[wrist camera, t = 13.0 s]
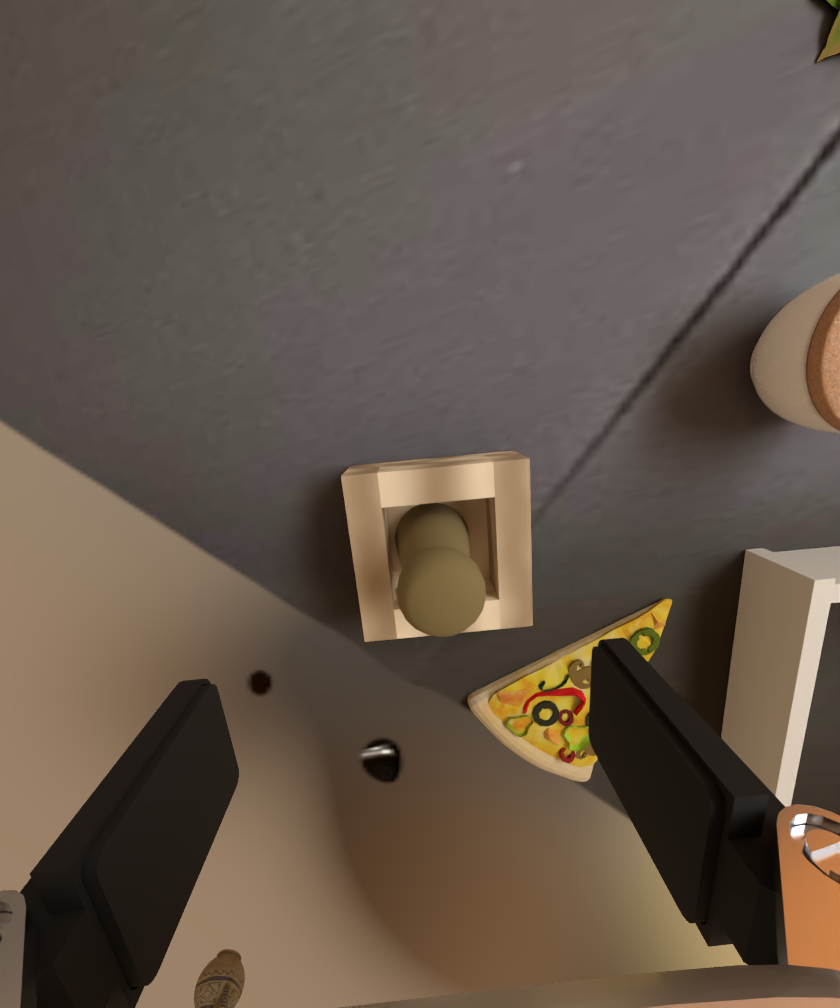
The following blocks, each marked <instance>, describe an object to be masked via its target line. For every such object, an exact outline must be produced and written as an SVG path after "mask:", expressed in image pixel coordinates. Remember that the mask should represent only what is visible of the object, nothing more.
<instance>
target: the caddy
mask: <svg viewBox="0 0 840 1008" xmlns="http://www.w3.org/2000/svg"><path fill="white" fill-rule="evenodd" d="M341 480H342V487H343V494H344V501H345V508H346V515H347V522H348V529H349V536H350V543H351V550H352V556H353V563H354V570H355V577H356V584H357V591H358V598H359V605H360V612H361V619H362V626H363V633H364V640H365V642H369V641H379V640H390V639H400V638H411V637H421V636H431V635H427V634H425V633H423V632H421V631H418V630H416V629H415V628H414V627H413V626H412V625H411V624H409V623H408V622H407V621H406V619H405V617H404V615H403V614H402V612H401V610H400V608H399V606H398V600H397V593H396V592H397V585H398V580H399V575H400V573H401V572H402V570H403V569H402V566H401V562H400V559H399V555H398V552H397V548H396V542H395V534H396V528H397V525H398V523H399V522H400V520H401V518H402V516H403V515H404V514H406V513H407V512H408V511H409V510H410V509H411V508H413V507H415V506H418V505H420V504H428V503H441V504H446V505H448V506H450V507H451V508H453V509H455V510H456V511H457V512H458V513H459V514H460V515H461V516H462V517H463V518H464V520H465V523H466V525H467V527H468V534H469V548H470V558H471V559H472V560H473V561H474V563H475V564H476V565H477V566H478V568H479V570H480V572H481V574H482V576H483V578H484V581H485V588H486V599H485V603H484V607H483V611H482V612H481V614H480V616H479V617H478V619H477V620H476V622H474V623H473V624H472V625H471V626H470V627H468V628H467V629H466V630H465V631H463V632H473V631H484V630H494V629H505V628H515V627H525V626H533V612H532V559H531V506H530V458H527V457H525V456H523V455H521V454H519V453H517V452H515V451H502V452H492V453H481V454H471V455H460V456H449V457H439V458H428V459H417V460H407V461H396V462H386V463H375V464H364V465H354V466H350V467H349V468H348V469H347V470H346V471H345V472H344V473H343V475H342V476H341ZM463 632H460V633H463Z"/></svg>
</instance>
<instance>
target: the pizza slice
mask: <svg viewBox="0 0 840 1008" xmlns="http://www.w3.org/2000/svg"><path fill="white" fill-rule="evenodd" d="M671 604H672V600H671V599H662V600H660V601H659V602H657V603H655V604H652V605H650V606H648V607H646V608H644V609H642V610H640V611H638V612H636V613H634V614H632V615H630V616H628V617H626V618H624V619H622V620H620V621H618V622H616V623H614V624H612V625H609V626H607V627H605V628H603V629H601V630H599V631H597V632H595V633H593V634H591V635H589V636H587V637H585V638H583V639H581V640H579V641H577V642H575V643H573V644H570V645H568V646H566V647H564V648H562V649H560V650H558V651H556V652H554V653H552V654H550V655H548V656H546V657H544V658H542V659H540V660H538V661H536V662H534V663H532V664H530V665H528V666H526V667H523V668H521V669H519V670H517V671H515V672H513V673H511V674H509V675H507V676H505V677H503V678H501V679H499V680H497V681H495V682H493V683H491V684H489V685H487V686H485V687H482V688H480V689H478V690H476V691H474V692H472V693H471V694H470V695H469V696H468V705H469V707H470V709H471V711H472V712H473V714H474V715H475V716H476V717H477V718H478V719H479V720H480V721H481V722H482V723H483V724H484V726H485V727H486V728H487V729H488V730H489V731H490V732H491V733H492V734H493V735H494V736H495V737H496V738H497V739H498V740H499V741H500V742H502V743H503V744H504V745H506V746H507V747H508V748H509V749H510V750H512V751H513V752H514V753H516V754H517V755H519V756H520V757H522V758H523V759H525V760H526V761H528V762H529V763H531V764H533V765H535V766H537V767H539V768H541V769H543V770H545V771H548V772H551V773H554V774H556V775H559V776H562V777H565V778H567V779H570V780H575V781H579V782H584V781H588V780H589V778H590V776H591V772H592V769H593V765H594V763H595V762H596V761H597V759H598V758H597V756H596V754H595V752H594V751H593V748H592V746H591V743H590V740H589V732H588V730H589V706H590V683H591V660H592V649H593V647H595V646H598V643H599V641H600V640H603V639H613V638H625V639H627V640H628V641H629V642H630V643H631V644H632V646H633V647H634V648H635V649H636V650H637V651H638V652H639V653H640V654H641V655H642V656H643V657H644V659H645V660H646V661H647V662H648V661H649V659H650V657H651V656H652V654H653V653H654V651H655V650H656V649H657V647H658V646H659V644H660V637H661V634H662V631H663V628H664V626H665V625H666V624H665V622H666V619H667V616H668V613H669V610H670V607H671ZM648 663H649V662H648Z"/></svg>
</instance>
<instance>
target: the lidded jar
mask: <svg viewBox="0 0 840 1008" xmlns="http://www.w3.org/2000/svg"><path fill="white" fill-rule="evenodd" d="M750 375H751V380H752V382H753V384H754V387H755V389H756V392H757V394H758V396H759V397H760V399H761V400H762V402H763V403H764V404H765V405H766V406H767V407H768V408H769V409H770V410H771V411H772V412H774V413H775V414H777V415H778V416H780V417H781V418H783V419H785V420H787V421H789V422H791V423H794V424H797V425H800V426H803V427H806V428H811V429H815V430H820V431H825V432H830V433H839V434H840V273H838V274H836V275H834V276H832V277H829V278H827V279H825V280H823V281H821V282H819V283H818V284H816V285H814V286H812V287H810V288H809V289H807V290H806V291H804V292H803V293H801V294H800V295H798V296H797V297H796V298H794V299H793V300H792V301H790V302H789V303H788V304H787V305H786V306H784V307H783V308H782V309H781V310H780V311H779V313H778V314H777V315H776V316H775V317H774V318H773V319H772V320H771V321H770V323H769V324H768V325H767V327H766V328H765V330H764V331H763V333H762V335H761V337H760V339H759V340H758V342H757V344H756V346H755V348H754V350H753V353H752V356H751V360H750Z"/></svg>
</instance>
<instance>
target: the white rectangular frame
mask: <svg viewBox="0 0 840 1008" xmlns="http://www.w3.org/2000/svg"><path fill="white" fill-rule="evenodd" d="M838 602H840V546H834V547H824V548H813V549H803V550H792V551H782V552H771V551H769V550H766V549H764V548H758V549H747V550H746V551H745V558H744V566H743V574H742V581H741V589H740V597H739V604H738V612H737V619H736V627H735V635H734V642H733V650H732V658H731V665H730V673H729V681H728V688H727V696H726V704H725V711H724V719H723V727H722V734H721V738H722V739H723V740H724V742H725V743H726V744H727V745H728V746H729V747H730V748H731V749H732V750H733V751H734V752H735V753H736V754H737V755H738V757H739V758H740V759H741V760H742V761H743V762H744V763H745V764H746V765H747V766H748V767H749V768H750V769H751V770H752V772H753V773H754V774H755V775H756V776H757V777H758V778H759V779H760V780H761V781H762V782H763V783H764V784H765V786H766V787H767V788H768V789H769V790H770V791H771V792H772V793H773V794H774V795H775V796H776V797H777V798H778V799H779V801H780V802H781V803H782V804H783V805H784V806H785V807H787V806H791V801H792V796H793V791H794V786H795V781H796V776H797V771H798V766H799V761H800V756H801V751H802V746H803V741H804V736H805V731H806V725H807V720H808V715H809V710H810V705H811V700H812V695H813V690H814V685H815V680H816V675H817V670H818V665H819V660H820V655H821V650H822V644H823V639H824V634H825V629H826V624H827V619H828V614H829V609H830V604H831V603H838Z"/></svg>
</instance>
